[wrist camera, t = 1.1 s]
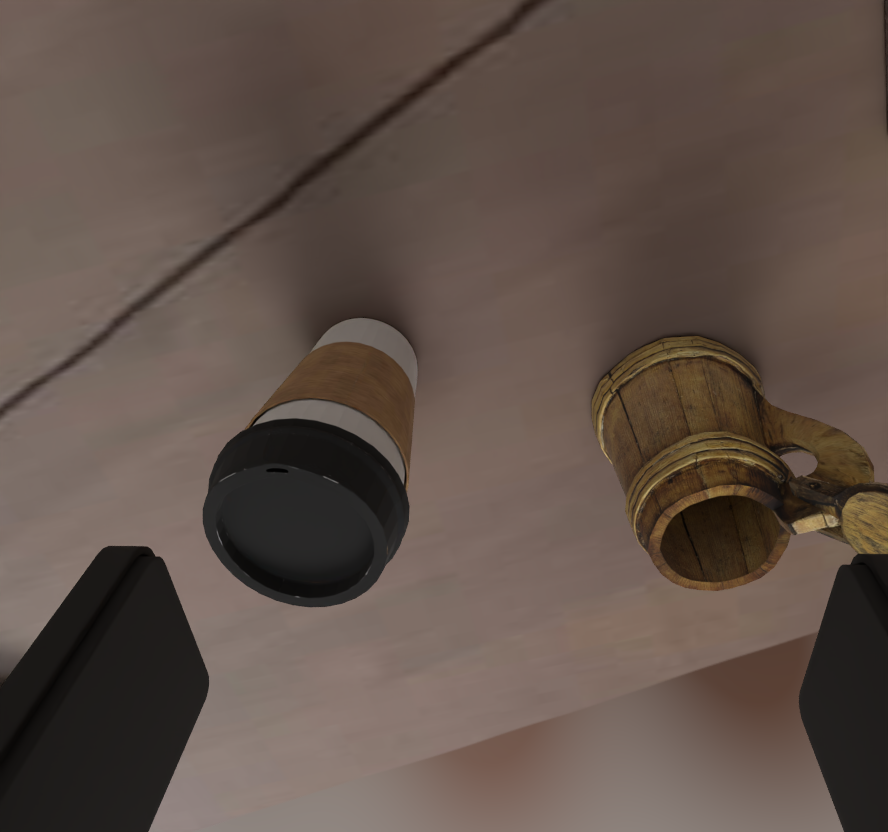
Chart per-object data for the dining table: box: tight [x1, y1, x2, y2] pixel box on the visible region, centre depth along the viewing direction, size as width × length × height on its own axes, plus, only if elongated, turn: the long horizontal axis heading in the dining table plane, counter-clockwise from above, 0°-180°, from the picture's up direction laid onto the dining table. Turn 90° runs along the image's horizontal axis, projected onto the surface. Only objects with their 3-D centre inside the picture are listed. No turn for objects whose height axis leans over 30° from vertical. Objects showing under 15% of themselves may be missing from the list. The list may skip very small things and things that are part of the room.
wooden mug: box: [592, 336, 888, 591], centre depth 31 cm, size 9×14×18 cm, turn 121°
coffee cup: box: [203, 318, 418, 607], centre depth 33 cm, size 8×8×15 cm
